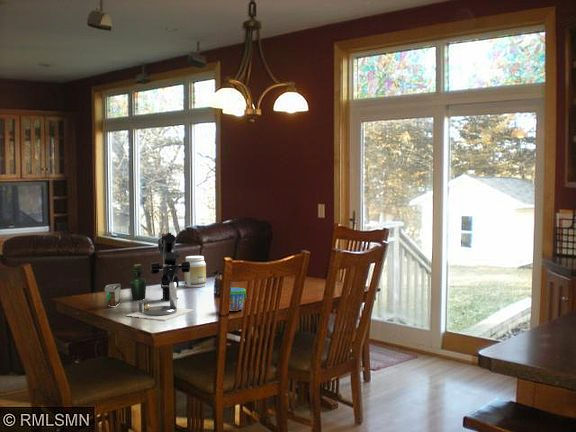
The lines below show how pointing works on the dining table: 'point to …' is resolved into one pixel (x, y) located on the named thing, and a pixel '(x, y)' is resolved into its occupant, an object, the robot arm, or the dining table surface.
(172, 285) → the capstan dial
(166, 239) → the robot arm
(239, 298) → the snack cup
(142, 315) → the level stand
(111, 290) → the food container
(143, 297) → the potion bottle
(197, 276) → the supplement tub
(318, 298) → the dining table surface
